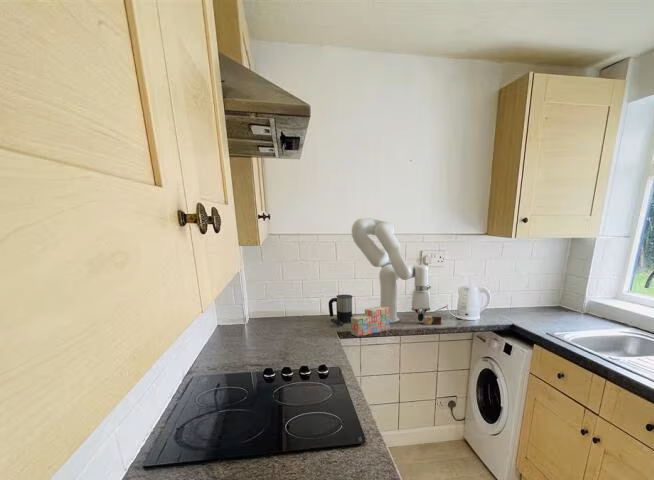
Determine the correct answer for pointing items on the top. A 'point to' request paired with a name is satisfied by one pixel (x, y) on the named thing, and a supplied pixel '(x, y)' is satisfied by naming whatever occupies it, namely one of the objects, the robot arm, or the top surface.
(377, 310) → the stack of blocks
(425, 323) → the birch block
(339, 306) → the milk frother
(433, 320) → the walnut block
